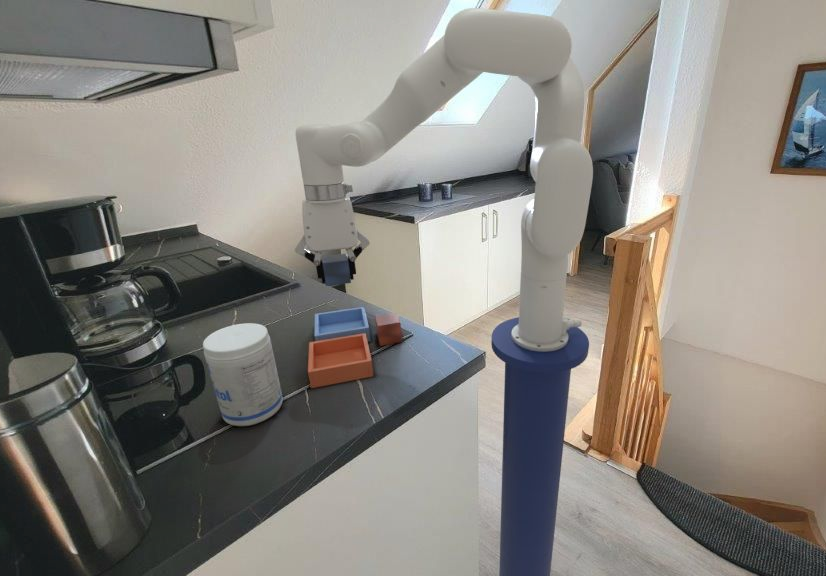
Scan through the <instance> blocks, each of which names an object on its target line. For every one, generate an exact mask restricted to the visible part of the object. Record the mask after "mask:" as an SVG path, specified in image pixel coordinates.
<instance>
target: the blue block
mask: <svg viewBox="0 0 826 576" xmlns="http://www.w3.org/2000/svg"><path fill="white" fill-rule="evenodd" d="M321 259H322V264H323V270H324V276H325V283H324V284H325V286H326V287H329V286H338V285H346V284H347V285H348V284H351V283H352V280H351V279H350V271H349V263H348V254H347V253H339V254H338V253H337V254H328V255H321Z"/></svg>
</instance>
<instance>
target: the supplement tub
mask: <svg viewBox="0 0 826 576" xmlns="http://www.w3.org/2000/svg"><path fill="white" fill-rule="evenodd" d="M202 349H203V355H204V359H205V363H206V366H207V370H208V372H209V376H210V380H211V384H212V387H213V391H214V394H215V397H216V401H217V404H218V407H219V411H220V414H221V418H222V419H223V421H224V422H225V423H226V424H229V425H231V426H235V427H249V426H253V425H257V424H259V423H262V422H264V421H266V420H268V419H269V418H271V417H273V416H274V415H275V414H276V413H277V412H278V411H279V410H280V408H281V406H282V404H283V399H284V398H283V393H282V388H281V383H280V379H279V373H278V369H277V364H276V359H275V355H274V350H273V346H272V339H271V337H270V335H269V332H268V329H267V327H266V326H265V325H263V324H260V323H253V322H246V323H238V324H232V325H229V326H226V327H223V328H220V329H218V330H215V331H213V332H212V333H210V334H209V335H208V336H206V338H205V339H204V340H203V342H202Z"/></svg>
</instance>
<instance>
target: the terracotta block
mask: <svg viewBox="0 0 826 576" xmlns="http://www.w3.org/2000/svg"><path fill="white" fill-rule="evenodd" d="M374 320H375V321H374V322H375V329H376V330H375V331H376V337H377V340H378V345H379V346H388V345H393V344H398V343H402V342H403V336H402V335H403V334H402V325H401V320H400V318H399V315H398V313H397V312H395V313H388V314H382V315H376V316H374Z"/></svg>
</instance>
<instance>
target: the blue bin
mask: <svg viewBox="0 0 826 576" xmlns="http://www.w3.org/2000/svg"><path fill="white" fill-rule="evenodd" d="M313 332H314V334H313V335H314V342H315V341H321V340H327V339H333V338H339V337H345V336H351V335H358V334H364V333H366V337H367V342H368V343H369V342H371V334H370V333H371V332H370V326H369V322H368V318H367V314H366V309H365V306H359V307H353V308H347V309H339V310H332V311H326V312H318V313H314V331H313Z"/></svg>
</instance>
